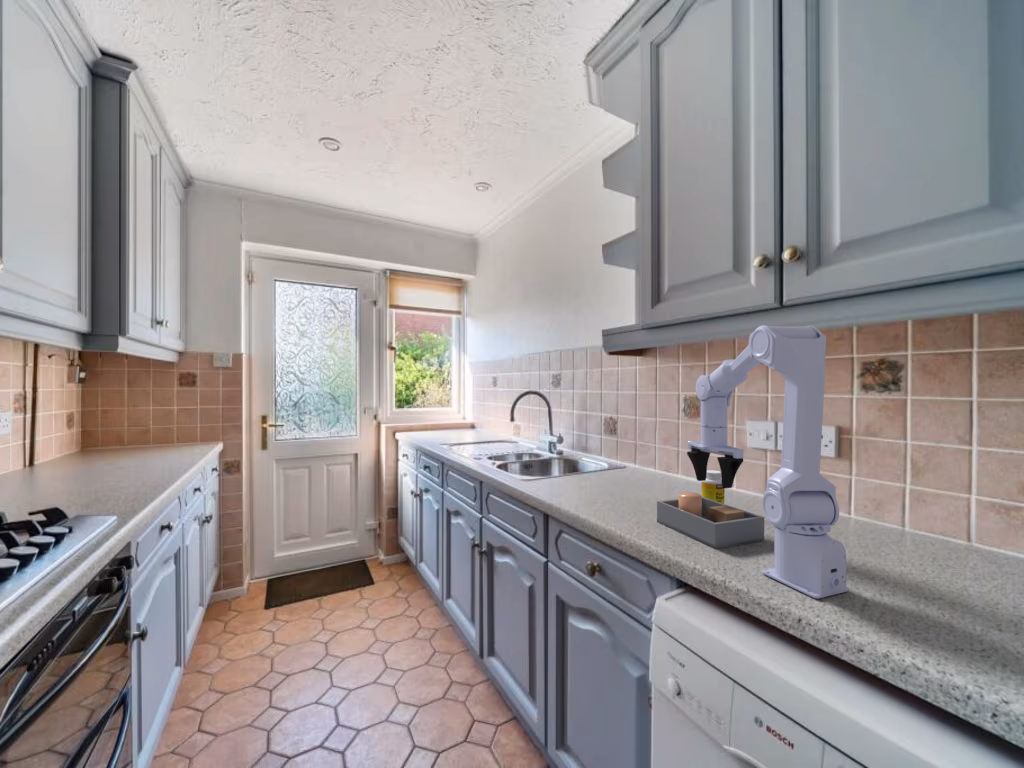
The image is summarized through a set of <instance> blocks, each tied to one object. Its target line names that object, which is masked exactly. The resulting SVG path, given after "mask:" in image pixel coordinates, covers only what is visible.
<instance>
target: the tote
mask: <svg viewBox="0 0 1024 768" xmlns="http://www.w3.org/2000/svg"><path fill="white" fill-rule="evenodd" d="M724 505H726V506H729V507H732V508H735V509H738V510H741V511H744V519H738V520H731V521H723V522H716V523H714V522H712V521H709V507H715V506H724ZM656 522H657V523H659V524H661V525H663V526H665V527H667V528H669V529H672V530H674V531H676V532H678V533H680V534H682V535H684V536H687V537H688V538H691V539H693V540H694V541H696V542H699V543H701V544H703V545H706V546H707V547H710V548H712V549H714V550H716V549H717V550H718V549H723V548H729V547H735V546H739V545H746V544H753V543H759V542H765V517H764V516H761V515H758V514H755V513H752V512H749V511H746V510H744V509H741V508H736V507H734V506H731V505H729V504H726V503H724V504H722V503H719V502H716V501H713V500H710V499H707V498H704V497H702V517H699V516H697V515H694V514H692V513H689V512H687V511H684V510H681V509H679V500H678V498H675V499H666V500H665V499H664V500H658V501H656Z"/></svg>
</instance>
